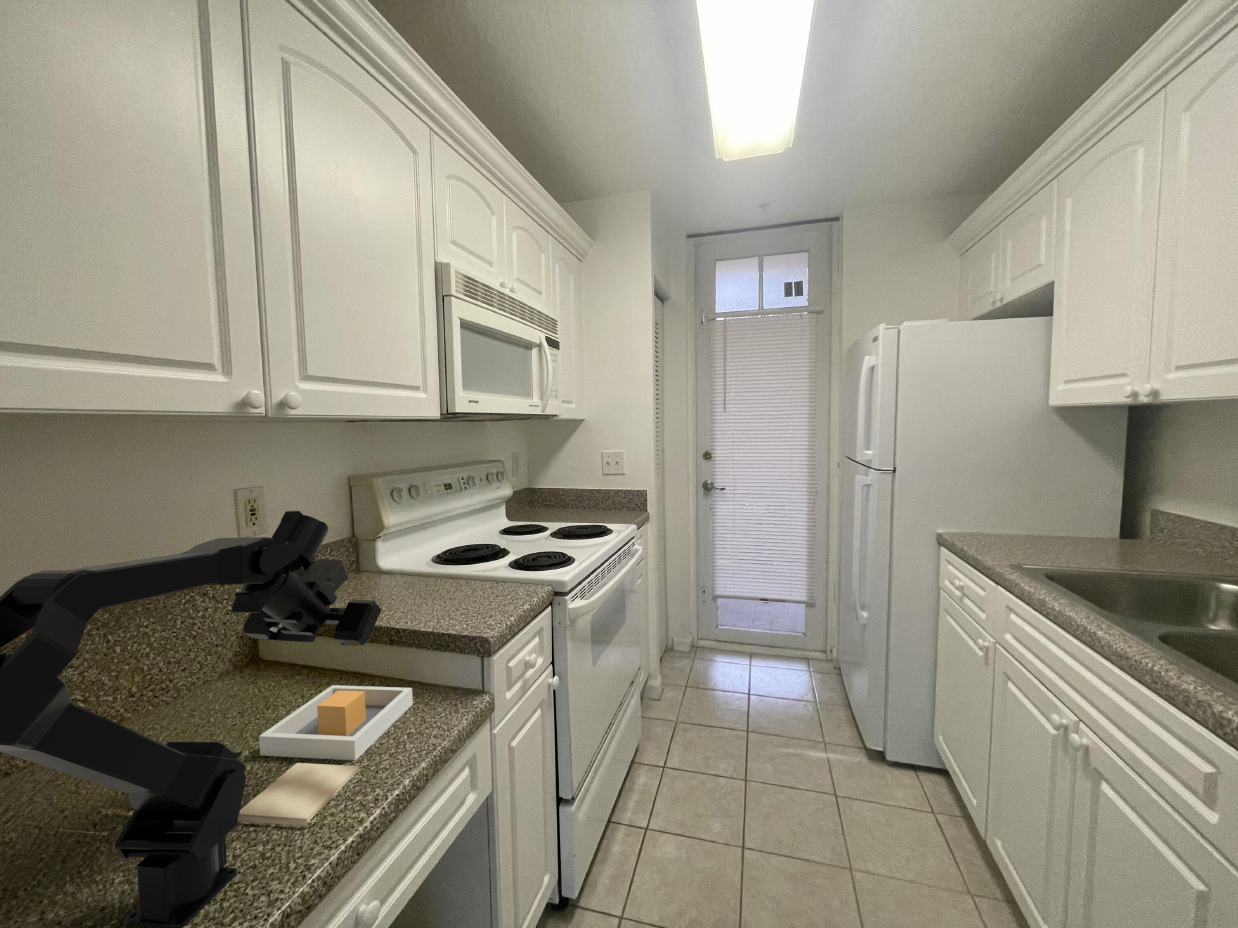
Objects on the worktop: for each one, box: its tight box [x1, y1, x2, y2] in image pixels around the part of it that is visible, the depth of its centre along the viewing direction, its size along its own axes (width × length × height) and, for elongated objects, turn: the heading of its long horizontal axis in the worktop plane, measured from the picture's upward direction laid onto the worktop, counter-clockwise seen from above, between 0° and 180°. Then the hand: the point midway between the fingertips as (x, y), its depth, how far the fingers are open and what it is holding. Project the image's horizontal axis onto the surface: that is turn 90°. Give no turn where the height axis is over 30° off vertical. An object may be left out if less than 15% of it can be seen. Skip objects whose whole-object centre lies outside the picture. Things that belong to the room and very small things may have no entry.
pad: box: [237, 762, 360, 827], centre depth 66 cm, size 10×10×1 cm
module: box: [317, 691, 366, 736], centre depth 81 cm, size 5×5×5 cm
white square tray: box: [258, 684, 414, 761], centre depth 81 cm, size 16×16×4 cm
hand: (340, 640), depth 78 cm, fingers open, 9 cm apart
